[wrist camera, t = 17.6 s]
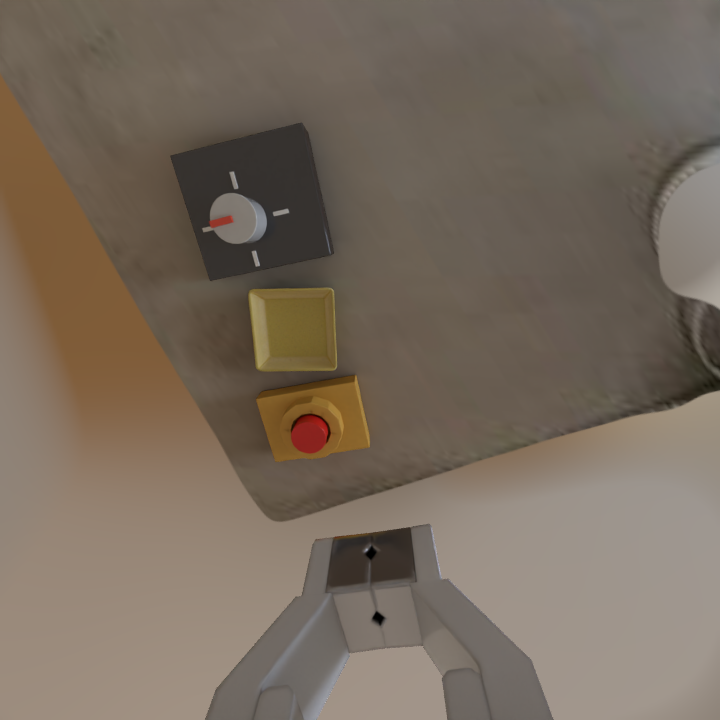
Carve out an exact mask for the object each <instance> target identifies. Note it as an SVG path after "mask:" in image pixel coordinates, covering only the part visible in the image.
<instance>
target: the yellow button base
mask: <svg viewBox="0 0 720 720" xmlns="http://www.w3.org/2000/svg"><path fill="white" fill-rule="evenodd" d="M256 401H257V404H258V408H259V411H260V414H261V417H262V421H263V424H264V427H265V430H266V433H267V437H268V440H269V443H270V446H271V449H272V453H273V456H274V459H275V462H280V461H286V460H292V459H299V458H308V459H316V458H322V457H326V456H327V455H329V454H330V453H337V452H343V451H349V450H356V449H362V448H368V447H370V436H369V431H368V427H367V422H366V418H365V413H364V409H363V404H362V400H361V395H360V390H359V386H358V381H357V377H356V375H352V376H346V377H341V378H335V379H329V380H324V381H318V382H313V383H307V384H301V385H296V386H290V387H285V388H279V389H273V390H268V391H262V392H261V393H260V395H259V396H258V397H257V398H256ZM305 415H315V416H318V417H320V418H321V419H323V420H324V421H325V423H326V424H327V427H328V435H327V439H326V443H325V445H324V447H323V448H322V449H321V450H320V451H318V452H316V453H311V454H308V453H303V452H301V451H299V450H298V449H296V448H295V446H294V445H293V443H292V441H291V433H292V430H293V428H294V426H295V424H296V422H297V420H298V419H299V418H301V417H303V416H305Z"/></svg>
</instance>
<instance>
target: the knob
mask: <svg viewBox="0 0 720 720" xmlns="http://www.w3.org/2000/svg"><path fill="white" fill-rule="evenodd" d="M209 223H210V226H211V228H213V230H214V231H215V233H216V234H217V235H218V236H219V237H220V238H221V239H222V240H224V241H226V242H228V243H232V244H250V243H254V242H256V241H258V240H259V239H260V238H261V237H262V236H263V234H264V233H265V230H266V226H267V219H266V214H265V212H264V210H263V208H262V207H261V205H260V204H259V203H258V202H256V201H255V200H253V199H251V198H249V197H246V196H243V195H240V194H236V193H226V194H223V195H221V196H219V197H218V198H217V199H216V200H215V201H214V203H213V205H212V207H211V211H210V221H209Z"/></svg>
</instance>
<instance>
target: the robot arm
mask: <svg viewBox="0 0 720 720" xmlns="http://www.w3.org/2000/svg"><path fill="white" fill-rule="evenodd" d="M412 646H423V648H424V649H425V651H426V652H427V654H428V655H429V657H430V658H431V660H432V661H433V662H434V664H435V666H436V667H437V668H438V670H439V672H440V673H441V675H442V676H443V678H442V682H443V690H444V697H445V704H446V712H447V719H448V720H553V717H552V715H551V712H550V710H549V707H548V704H547V701H546V699H545V696H544V693H543V690H542V688H541V685H540V682H539V680H538V677H537V674H536V671H535V669H534V666H533V663H532V661H531V659H530V658H529V657H528V656H527V655H526V654H525V653H524V652H522V651H521V650H520V649H519V648H518V647H517V646H516V645H515V644H514V643H513V642H512V641H511V640H510V639H509V638H508V637H507V636H506V635H505V634H504V633H503V632H502V631H501V630H500V629H499V628H498V627H497V626H496V625H495V624H494V623H493V622H492V621H491V620H490V619H489V618H488V617H487V616H486V615H485V614H484V613H483V612H482V611H480V609H479V608H477V606H476V605H474V604H473V603H472V602H471V601H470V600H469V599H468V598H467V597H466V596H465V595H464V594H463V593H462V592H461V591H460V590H459V589H458V588H457V587H456V586H455V585H454V584H453V583H452V582H451V581H450V580H449V579H442V578H441V573H440V567H439V562H438V557H437V553H436V547H435V542H434V536H433V531H432V526H431V525H430V524H426V525H419V526H413V527H411V528H410V527H408V528H401V529H394V530H387V531H381V532H373V533H365V534H356V535H347V536H338V537H333V538H324V539H316V540H315V542H314V543H313V546H312V550H311V555H310V559H309V564H308V569H307V573H306V578H305V583H304V587H303V592H302V596H299V597H295V598H294V599H293V601H292V602H291V603H290V604H289V606H287V608H286V609H285V610H284V611H283V612H282V613H281V615H280V616H279V617H278V618H277V619H276V620H275V621H274V623H273V624H272V625H271V626H270V627H269V628H268V630H267V631H266V632H265V633H264V634H263V635H262V636H261V638H260V639H259V640H258V641H257V642H256V643H255V645H254V646H253V647H252V648H251V649H250V650H249V652H248V653H247V654H246V655H245V656H244V657H243V658H242V660H241V661H240V662H239V663H238V664H237V665H236V667H235V668H234V669H233V670H232V671H231V672H230V674H229V675H228V676H227V677H226V678H225V679H224V681H223V682H222V683H221V684H220V685H219V686H218V687H217V689H216V691H215V694H214V696H213V699H212V702H211V705H210V707H209V710H208V713H207V716H206V718H205V720H316V719H317V718H318V716H319V714H320V712H321V710H322V708H323V706H324V704H325V702H326V700H327V698H328V696H329V695H330V693H331V691H332V689H333V687H334V685H335V683H336V681H337V679H338V677H339V676H340V674H341V672H342V670H343V668H344V666H345V664H346V662H347V660H348V658H349V656H350V655H349V653H355V652H362V651H369V650H376V649H384V648H396V647H412Z"/></svg>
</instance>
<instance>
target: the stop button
mask: <svg viewBox="0 0 720 720" xmlns="http://www.w3.org/2000/svg"><path fill="white" fill-rule="evenodd" d="M327 435H328V427H327V424H326V423H325V421H324V420H323V419H321V418H320V417H318V416H315V415H305V416H303V417H301V418H299V419H298V420H297V422H296V424H295V426H294V428H293V430H292V433H291V441H292V443H293V445H294V446H295V448H296V449H298V450H299V451H301V452H303V453H308V454H311V453H316V452H318V451H320V450H321V449H322V448H323V447H324V445H325V443H326V439H327Z"/></svg>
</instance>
